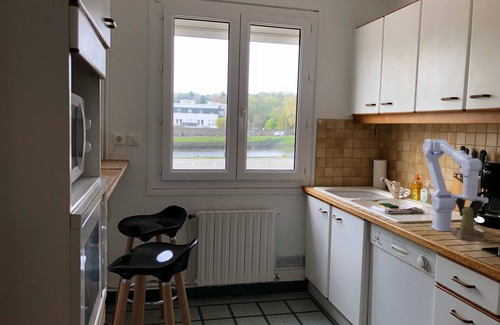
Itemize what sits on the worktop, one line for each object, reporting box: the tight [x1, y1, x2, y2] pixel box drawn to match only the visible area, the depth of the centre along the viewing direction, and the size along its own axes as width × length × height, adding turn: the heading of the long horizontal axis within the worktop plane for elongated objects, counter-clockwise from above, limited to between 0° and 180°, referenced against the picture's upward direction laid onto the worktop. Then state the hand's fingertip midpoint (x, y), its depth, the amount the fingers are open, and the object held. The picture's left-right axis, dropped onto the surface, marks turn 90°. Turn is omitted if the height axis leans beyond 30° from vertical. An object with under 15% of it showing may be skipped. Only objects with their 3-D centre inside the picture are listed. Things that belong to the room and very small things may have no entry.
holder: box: [451, 226, 485, 242], centre depth 189 cm, size 10×10×4 cm
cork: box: [460, 206, 475, 232], centre depth 188 cm, size 6×6×11 cm
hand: (468, 216), depth 189 cm, fingers closed on cork, 5 cm apart
